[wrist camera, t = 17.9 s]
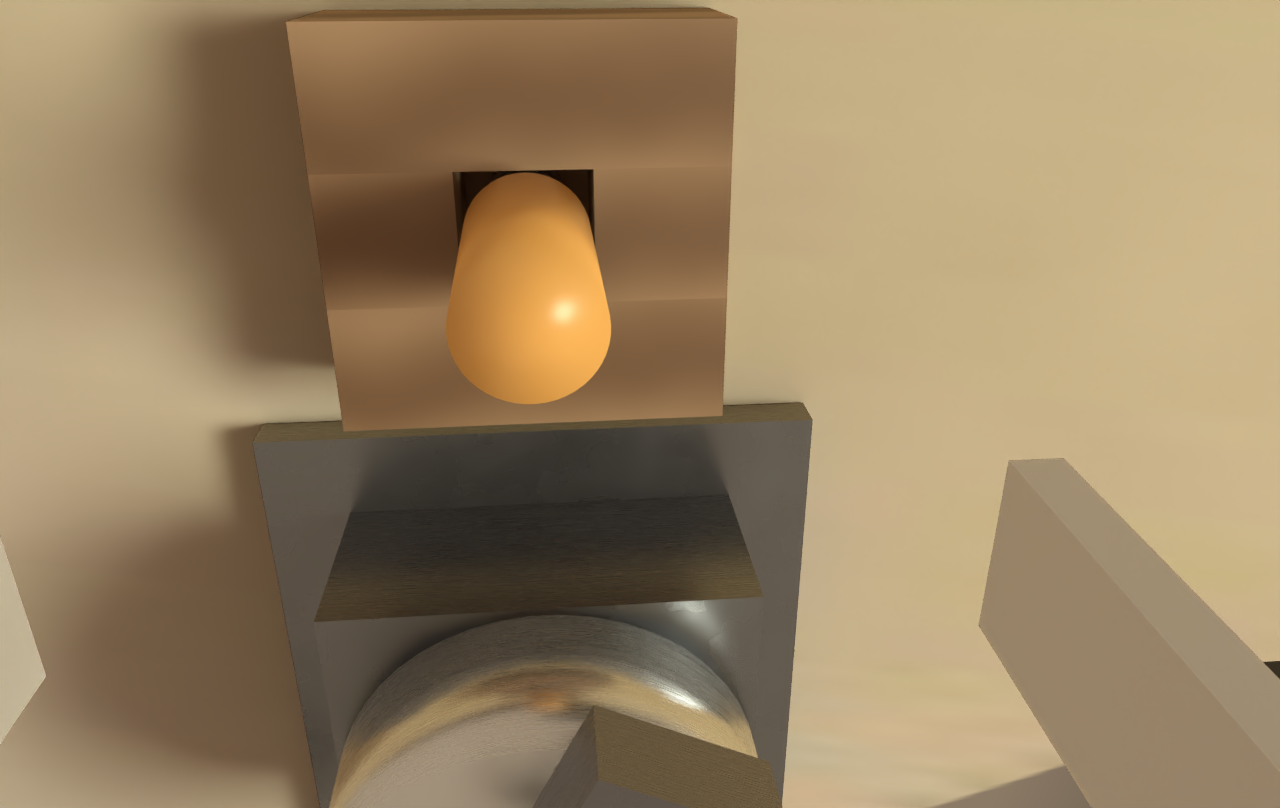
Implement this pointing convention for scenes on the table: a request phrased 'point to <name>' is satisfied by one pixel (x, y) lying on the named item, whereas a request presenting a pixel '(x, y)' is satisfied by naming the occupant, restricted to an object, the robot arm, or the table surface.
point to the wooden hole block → (517, 141)
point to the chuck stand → (538, 547)
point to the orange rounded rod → (527, 291)
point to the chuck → (553, 725)
